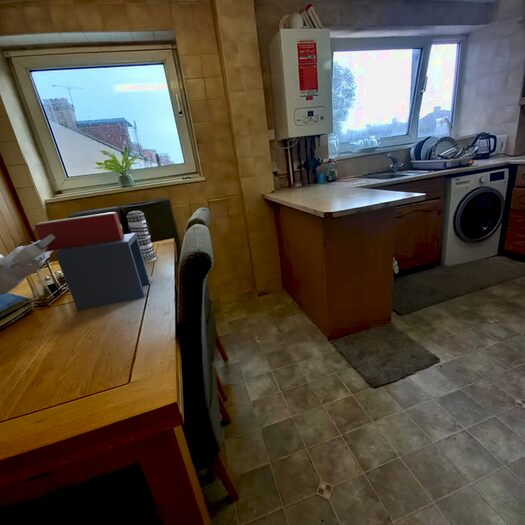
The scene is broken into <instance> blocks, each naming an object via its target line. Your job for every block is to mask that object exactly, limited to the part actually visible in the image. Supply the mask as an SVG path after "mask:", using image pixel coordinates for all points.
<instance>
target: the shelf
mask: <svg viewBox="0 0 525 525" xmlns="http://www.w3.org/2000/svg"><path fill="white" fill-rule="evenodd" d="M123 235H124V238H123V239H122V240H117V241H110V242H104V243H98V244H92V245H85V246H79V247H73V248H66V249H60V250H57V252H55V253H54V255H55V257H56V260H57V262H58V265H59V267H60V270H61V272H62V275H63V278H64V280H65V284H66V285H67V287H68V290H69V293H70V295H71V297H72V301H73V303H74V305H75V308H76V310H77V311H82V310H87V309H93V308H97V307H102V306H107V305H112V304H117V303H122V302H127V301H133V300H138V299H143V298H145V296H146V295H145V292H144V287H143V286H146V285H150V283H151V281H150V278H149V274H148V270H147V267H146V263H144V259H143V256H142V252H141V249H140V245H139V242H138V238H137V235H136V233H131V232H130V233H125V234H124V233H123Z"/></svg>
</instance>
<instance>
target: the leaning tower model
mask: <svg viewBox="0 0 525 525" xmlns="http://www.w3.org/2000/svg"><path fill="white" fill-rule="evenodd" d="M126 218H127V223H128V224H127V228H128V231H129V232H130V233H136V235H137V238H138V242H139V245H140V249H141V252H142V256H143V259H144V263H145V264H147V263H151V262H153V261H155V260H157V257H156V256H157V255H156V252H155V249H154V245H153V243H152V241H151V233H150V229H149V228H150V226H148V224H149V223H148V222H147V221H146V218H145V213H144V212H143V211H141V210H133V211H129V212H128V213H127V215H126Z"/></svg>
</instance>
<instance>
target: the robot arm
mask: <svg viewBox="0 0 525 525" xmlns="http://www.w3.org/2000/svg"><path fill="white" fill-rule="evenodd" d="M56 238H57V236H56V235H54V234H50V235H49V236H47V237H46V238H45V239H43V240H41V241H40V239H39V240H36V241H35V242H33V243H30V244H28V245H24V246H21V245H19V246H17V247H15V248H14V249H13V250H12V251H11V252H9V253H8V254H7V255H6V256H5V255H4V254H2V253H0V296H2V295H5V294H8V293H9V292H10V291H13V290H14V289H15V288H17V287H19V285H20V284H22V283H23V282H24V281H25V280H26V278H27V277H29V276H31V275H33V274H34V273H35V272H36V271H37V270H39V269H40V268H41V267H42V266H43V265H44V263H45V262H46V261H47V260H48V259H49V258H50V257H51V254H52V253H54V251H47V252H45V251H46V250H47V249H48V247H46V246H47V245H48V244H49V243H51V242H52V241H53V240H54V239H56Z"/></svg>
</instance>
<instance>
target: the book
mask: <svg viewBox="0 0 525 525" xmlns="http://www.w3.org/2000/svg"><path fill="white" fill-rule="evenodd" d="M109 212H110V213H108V212H103V213H95V214H89V215H83V216H76V217H75V216H74V217H69V218H60V219H55V220H48V221H46V220H45V221H40V222H38V223H35V224H34V228H35V231H36V232H37V235H38V238H39V240H40V241H41V240H43V239H45V238H46V237H47V236H49V235H50V234H54V235H56V236H57V238H56V239H54V240H53V241H52V242H51V243H49V244H48V245H47V246H46V247H48V249H47V250H46V251H45V252H47V251H53V252H54V251H60V250H62V249H66V248H73V247H79V246H85V245H92V244H98V243H104V242H110V241H117V240H122V239H123V238H124V232H123V227H122V228H121V226H122V224H121V222H120V217H119V214H118V212H117V211H109ZM120 224H121V225H120Z"/></svg>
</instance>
